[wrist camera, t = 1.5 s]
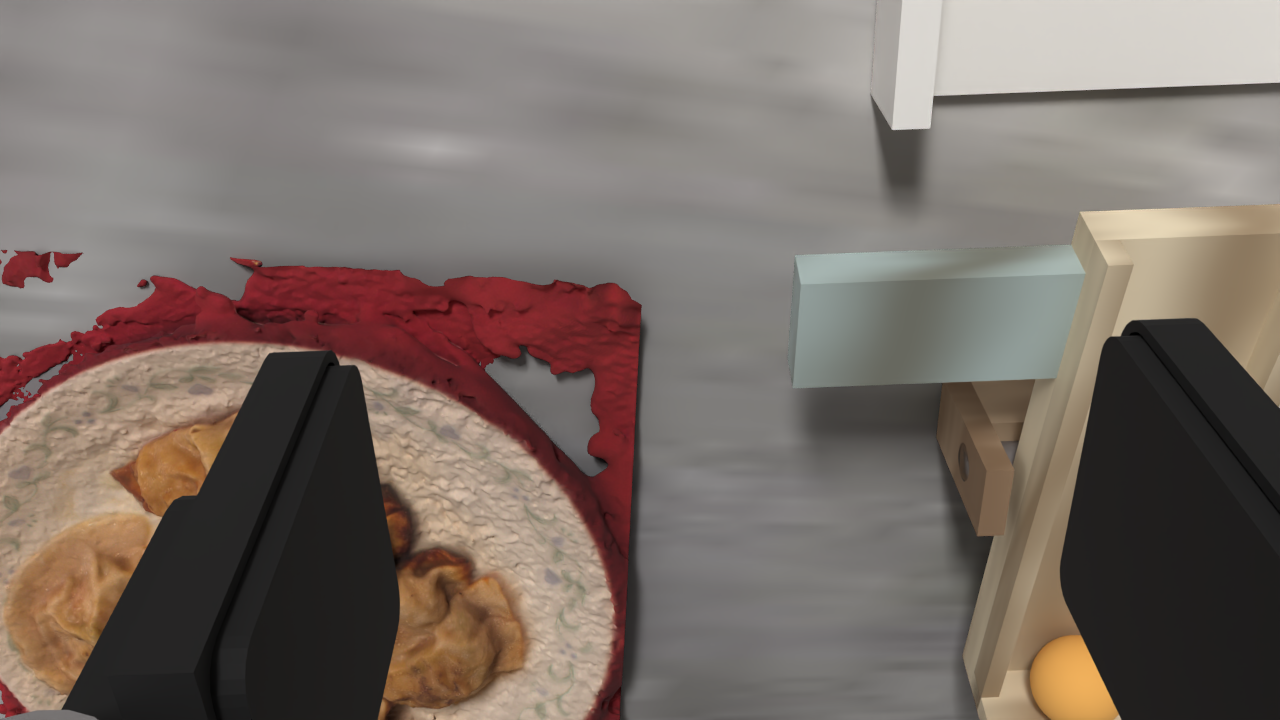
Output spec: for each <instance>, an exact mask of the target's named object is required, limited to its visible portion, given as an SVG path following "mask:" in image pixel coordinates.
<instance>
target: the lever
mask: <svg viewBox="0 0 1280 720" xmlns="http://www.w3.org/2000/svg"><path fill="white" fill-rule="evenodd" d="M1177 318H1197V319H1199V320H1200V321H1201V322H1203V323H1204V324H1205V325H1206V326H1207V327H1208V329H1209V330H1210V331H1211V332H1212V333H1213V334H1214V335H1215V336H1216V338H1217V339H1218V340H1219V341H1220V342H1221V343H1222V344H1223V345H1224V347H1225V348H1226V349H1227V350H1228V351H1229V352H1230V353H1231V354H1232V356H1233V357H1234V358H1235V359H1236V360H1237V361H1238V362H1239V363H1240V365H1241V366H1242V367H1243V368H1244V369H1245V370H1246V371H1247V372H1248V374H1249V375H1250V376H1251V377H1252V378H1253V379H1254V380H1255V381H1256V383H1257V384H1258V385H1259V386H1260V387H1261V388H1262V389H1263V390H1264V392H1265V393H1266V394H1267V395H1268V396H1269V397H1270V398H1271V399H1272V401H1273V402H1274V403H1275V404H1276V405H1277V406H1278V407H1279V405H1280V204H1272V205H1246V206H1220V207H1194V208H1168V209H1142V210H1116V211H1090V212H1080V213H1079V217H1078V221H1077V224H1076V228H1075V232H1074V236H1073V239H1072V243H1071V245H1048V246H1022V247H996V248H970V249H944V250H918V251H892V252H866V253H840V254H814V255H795V262H794V276H793V290H792V303H791V317H790V331H789V345H788V364H789V370H790V375H791V381H792V386H793V388H816V387H842V386H868V385H894V384H920V383H946V382H972V381H998V380H1024V379H1035V383H1034V387H1033V391H1032V395H1031V398H1030V402H1029V406H1028V410H1027V413H1026V417H1025V421H1024V425H1023V429H1022V432H1021V436H1020V440H1019V444H1018V447H1017V451H1016V455H1015V459H1014V463H1013V468H1014V476H1013V483H1012V489H1011V495H1010V502H1009V508H1008V514H1007V520H1006V527H1005V533H1004V535H1000V536H994V538H993V542H992V546H991V550H990V553H989V557H988V561H987V565H986V568H985V572H984V576H983V580H982V584H981V587H980V591H979V595H978V599H977V603H976V606H975V610H974V614H973V618H972V621H971V625H970V629H969V633H968V637H967V640H966V644H965V648H964V652H963V655H962V656H963V660H964V664H965V667H966V671H967V675H968V678H969V682H970V686H971V690H972V693H973V697H974V701H975V705H976V708H977V712H978V716H979V719H980V720H1051V719H1050V718H1048V717H1047V716H1046V715H1045V714H1044V713H1043V711H1042V710H1041V709H1040V708H1039V706H1038V704H1037V703H1036V701H1035V699H1034V697H1033V694H1032V691H1031V686H1030V671H1031V667H1032V663H1033V661H1034V659H1035V657H1036V655H1037V654H1038V652H1039V651H1040V650H1041V649H1042V648H1043V647H1044V646H1045V645H1046V644H1047V643H1049V642H1050V641H1052V640H1054V639H1057V638H1059V637H1063V636H1068V635H1081V634H1080V632H1079V630H1078V628H1077V626H1076V624H1075V622H1074V620H1073V618H1072V615H1071V613H1070V611H1069V609H1068V607H1067V605H1066V603H1065V600H1064V597H1063V594H1062V589H1061V583H1060V561H1061V556H1062V550H1063V545H1064V540H1065V535H1066V530H1067V525H1068V520H1069V514H1070V509H1071V504H1072V499H1073V494H1074V489H1075V484H1076V478H1077V473H1078V468H1079V463H1080V458H1081V453H1082V447H1083V442H1084V437H1085V432H1086V427H1087V422H1088V417H1089V411H1090V406H1091V401H1092V396H1093V391H1094V386H1095V381H1096V375H1097V370H1098V365H1099V360H1100V355H1101V351H1102V347H1103V345H1104V343H1105V341H1106V339H1108V338H1109V337H1111V336H1121V334H1122V331H1123V330H1124V328H1125V326H1126V324H1128V323H1129V322H1130V321H1132V320H1150V319H1177ZM1114 720H1121V718H1120V716H1119V715H1118V716H1117V717H1116V718H1115V719H1114Z"/></svg>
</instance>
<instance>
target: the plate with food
mask: <svg viewBox="0 0 1280 720" xmlns="http://www.w3.org/2000/svg"><path fill="white" fill-rule="evenodd" d="M1 251H2V252H3V253H7V250H1ZM15 252H16V253H17V254H18V255H17V256H14V257H12V258H11V259H10V261H9V263H8V264H6V265H5V267H4V272H3V275H2V282H3V284H6V285H9V286H14V287H19V288H24V280H25V278H26V277H38V278H40V279H42V280H43V281H45V282H48V283H50V282H52V281H53V278H52V277H51V276H50V274H49V270H48V264H49V262H50V253H51V252H48V253H45V254H42V255H38V256H37V255H36V253H35V252H33V251H26V252H19V251H15ZM81 254H82V253H77V254H61V253H59V252H54V262H55V265H56V266H57V268H59V267H68V266H69V264H70V263H71V262H73V261H75V260H77V259H78V257H79V256H80V255H81ZM230 259H231V260H233V261H235V262H236V263H238V264H241V265H244V266H247V267H250V268H252V269H253V270H254V273H253V275H252V276H251V277H250V278H249V279H248V281H247V283H246V287H245V292H244V295H243V297H242V299H241V300H240V301H236V300H230V299H229V298H228V297H226V296H224V295H222V294H219V293H215V292H211V291H209V290H207V289H206V288H204V287H203V286H200V287H198V288H197V289H195V288H193V287H190V286H188V285H186V284H185V283H183V282H181V281H179V280H177V279H174V278H168V277H160V276H152V277H151V278H150V280H151V282H152V283H153V284H154V285H155V287H156V288H155V291H154V293H153V294H152V295H151V296H150V297H149V298H147V299H146V300H145V301H144V302H142V303H140V304H138V305H137V306H136V307H131V308H124V307H118V308H114V309H110V310H107V311H106V312H105V313H103V314H102V315H100V316H99V317H97V319H96V322H97V324H98V326H100V325H102V326H103V328H102V329H99V328H98V326H97V325H94V326H93V330H92V331H87V332H86V333H85V334H83V333H80V332H76V331H74V332H72V333H71V338H72V341H69V342H67V343H66V342H64V341H61V339H60V340H59V342H58V343H56V344H48V345H45V346H42V347H39V348H36V349H34V350H32V351H30V352H25V353H23V357H25V359H24V360H22V359H21V358H20V357H18V356H14V355H12V356H8V357H7V358H5V359H4V358H1V357H0V406H1V405H3V404H4V403H5V402H7V401H8V399H14V400H18V399H17V398H16V397H17V396H18V397H20V398H24V401H23V402H24V403H22V404H19V405H18V406H15V405H14V406H11V408H10V411H9V412H8V413H7V414H6V415H7V416H8V418H7V419H4V420H2V421H0V690H1V691H2V700H3V703H4V704H0V713H1V714H6V715H5V718H6V717H10V716H15V715H19V714H23V713H28V712H32V711H36V710H61V709H62V707H63V705H64V704H65V702H66V700H67V698H68V696H69V694H70V692H71V690H72V688H73V686H74V685H75V683H76V681H77V679H78V677H79V675H80V673H81V671H82V669H83V667H84V666H85V664H86V662H87V660H88V658H89V656H90V654H91V652H92V650H93V648H94V647H95V645H96V643H97V641H98V639H99V637H100V635H101V633H102V631H103V629H104V627H105V626H106V624H107V622H108V620H109V618H110V616H111V614H112V612H113V610H114V608H115V607H116V605H117V603H118V601H119V599H120V597H121V595H122V593H123V591H124V589H125V588H126V586H127V584H128V582H129V580H130V578H131V576H132V574H133V572H134V570H135V568H136V567H137V565H138V563H139V561H140V559H141V557H142V555H143V553H144V551H145V549H146V548H147V546H148V544H149V542H150V540H151V538H152V536H153V534H154V532H155V530H156V529H157V527H158V525H159V523H160V521H161V519H162V517H163V515H164V513H165V511H166V510H167V509H168V507H169V506H170V505H171V503H172V502H173V500H175V499H177V498H179V497H181V496H190V495H197V494H198V492H199V490H200V488H201V486H202V484H203V482H204V480H205V478H206V476H207V474H208V472H209V470H210V468H211V466H212V464H213V462H214V460H215V458H216V456H217V454H218V452H219V450H220V448H221V446H222V444H223V442H224V440H225V438H226V436H227V434H228V432H229V430H230V428H231V426H232V424H233V422H234V420H235V418H236V416H237V414H238V412H239V410H240V408H241V406H242V404H243V402H244V400H245V398H246V396H247V394H248V392H249V390H250V388H251V386H252V384H253V382H254V380H255V378H256V376H257V374H258V372H259V370H260V368H261V366H262V364H263V362H264V360H265V358H266V357H267V355H268V354H269V353H273V352H298V351H324V350H332V351H333V352H334V353H335V354H336V356H337V358H338V361H339V364H340V365H356V366H357V367H358V370H359V372H360V375H361V379H362V384H363V390H364V395H365V401H366V407H367V412H368V418H369V423H370V429H371V434H372V440H373V446H374V451H375V457H376V462H377V468H378V473H379V479H380V485H381V490H382V496H383V501H384V507H385V512H386V518H387V523H388V529H389V535H390V540H391V546H392V551H393V557H394V562H395V568H396V574H397V579H398V585H399V592H400V618H399V626H398V631H397V636H396V640H395V645H394V649H393V654H392V658H391V663H390V667H389V672H388V676H387V680H386V685H385V689H384V694H383V698H382V703H381V707H380V712H379V716H378V720H620V696H621V686H622V672H623V656H624V637H625V619H626V599H627V579H628V551H629V532H630V513H631V494H632V474H633V456H634V434H635V412H636V393H637V374H638V355H639V337H640V321H641V307H642V305H641V304H639V303H638V302H636V301H634V300H632V299H631V297H630V296H629V294H628V292H627V291H625V290H623V289H622V288H620V287H619V286H618V285H617V284H615V283H606V284H599V285H596V286H595V287H592V288H588V287H585V286H583V285H579V284H574V283H569V282H562V281H559V280H554V282H553V283H552V284H549V285H536V284H531V283H527V282H522V281H515V280H511V279H508V278H504V277H488V278H484V277H473V276H465V277H461V278H454V279H448V280H446V281H445V283H444V286H438V287H432V286H428V285H426V284H424V283H422V282H421V281H420V280H418V279H415V278H410V277H407V276H405V275H403V274H402V273H401V272H400V270H394V271H388V270H384V271H382V270H376V269H373V270H365V269H352V268H347V267H305V266H278V267H261V266H262V262H261V261H257V260H249V259H237V258H230ZM1 263H2V262H1V260H0V264H1ZM146 284H147V281H146V280H141V281H140V283H139V284H138V285H137V287H143V286H145V285H146ZM520 345H524V346H526V347H527V348H528V352H529V354H530V355H532V356H533V357H536V358H539V359H542V360H545V361H546V362H549V363H550V365H551V370H550V371H551V373H552V374H553V375H557V374H560V373H562V372H565V371H567V372H570V373H575V372H577V371H581V370H584V369H586V368H589V369H591V370H592V372H593V374H594V377H595V389H594V392H593V395H592V398H591V405H590V406H591V410H592V413H593V414H594V415H595V416H596V417H597V418H598V420H599V426H600V431H599V432H598V433H596V434H594V435H593V436H592V437H591V438H590V440H589V443H588V446H587V449H588V454H590V455H591V456H594V457H599V458H602V459H605V461H606V462H607V463H608V466H607V468H606V469H605V470H603V471H602V472H600V473H599V474H597V475H596V476H594V477H590V476H587V475H586V474H584V473H583V472H581V471H580V470H579V468H578V467H577V466H576V465H575V464H574V462H573V461H572V460H571V459H570V458H569V457H567V456H566V455H565V453H564V452H563V451H562V450H560V449H559V448H558V447H557V446H556V445H555V444H554V443H553V442H552V441H551V440H550V438H549V437H548V436H547V435H546V433H545V432H544V431H543V430H542V429H541V428H539V427H538V426H537V424H536V423H535V422H534V421H533V420H532V419H531V418H530V417H529V416H528V415H527V414H526V413H525V412H524V411H523V410H522V409H521V408H520V406H519V405H518V404H517V403H516V402H515V401H514V400H513V399H512V398H511V397H510V396H509V395H508V394H507V393H506V392H505V391H504V390H503V389H502V388H501V387H500V386H499V385H498V384H497V383H496V382H495V381H494V380H493V379H492V378H491V377H490V376H489V375H488V374H487V373H486V372H485V369H484V368H485V367H486V365H488V364H489V363H491V364H493V362H494V360H493V359H495V358H498V357H500V356H501V355H502V356H507V357H509V358H513V359H514V358H518V357H519V356H521V351H520V349H519V346H520ZM82 346H83V347H82ZM75 350H77V352H75ZM71 354H73V355H74V356H73V361H70V362H69V363H68V364H64V365H63V366H62V368H61V370H59V375H56V376H53V377H52V378H51V379H50V380H43V379H40V380H39V382H42V384H43V385H42V386H41V387H40V389H39V390H38V393H39V394H40V395H39V394H35V395H34V396H33V397H32V398H28V395H29V396H30V395H31V393H30V392H29V391H26V392H29V393H28V395H27V396H25V397H24V393H23V392H21V389H18V388H21V387H25V385H26V384H27V383H28V382H29V381H30V380H31V379H33V378H36V377H38V376H40V374H41V373H44V372H46V371H48V370H49V368H51V367H54V366H56V365H57V364H60V363H61V362H62V361H67V360H68V358H69V356H70V355H71ZM80 354H83V356H81V355H80ZM480 361H481V366H479V363H480ZM18 364H19V366H18V367H17V365H18ZM23 389H24V388H23ZM13 392H17V393H18V392H19V394H18V395H17V393H15V395H14V394H13Z"/></svg>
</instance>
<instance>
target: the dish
mask: <svg viewBox="0 0 1280 720" xmlns="http://www.w3.org/2000/svg"><path fill="white" fill-rule="evenodd" d="M1255 83H1280V0H877V8H876V22H875V37H874V51H873V66H872V81H871V95H872V97H873V99H874V100H875V102H876V104H877V105H878V107H879V109H880V110H881V112H882V114H883V115H884V117H885V119H886V121H887V122H888V124H889V126H890V127H891V129H892V130H904V129H930V126H931V115H932V105H933V96H943V95H969V94H995V93H1021V92H1047V91H1073V90H1099V89H1125V88H1151V87H1177V86H1203V85H1229V84H1255Z"/></svg>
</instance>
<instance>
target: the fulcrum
mask: <svg viewBox="0 0 1280 720" xmlns="http://www.w3.org/2000/svg"><path fill="white" fill-rule="evenodd" d="M1034 383H1035V379H1024V380H998V381H972V382H946V383H942V391H941V400H940V409H939V417H938V426H937V435H936V438H937V440H938V443H939V445H940V448H941V450H942V452H943V455H944V457H945V460H946V462H947V465H948V467H949V469H950V472H951V474H952V477H953V479H954V481H955V484H956V486H957V489H958V491H959V493H960V496H961V498H962V501H963V503H964V506H965V508H966V510H967V513H968V515H969V518H970V520H971V522H972V525H973V527H974V530H975V532H976V535H977V536H1000V535H1004V533H1005V527H1006V520H1007V514H1008V508H1009V502H1010V495H1011V489H1012V483H1013V476H1014V468H1013V463H1014V459H1015V455H1016V451H1017V447H1018V444H1019V440H1020V436H1021V432H1022V429H1023V425H1024V421H1025V417H1026V413H1027V410H1028V406H1029V402H1030V398H1031V395H1032V391H1033V387H1034Z"/></svg>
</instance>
